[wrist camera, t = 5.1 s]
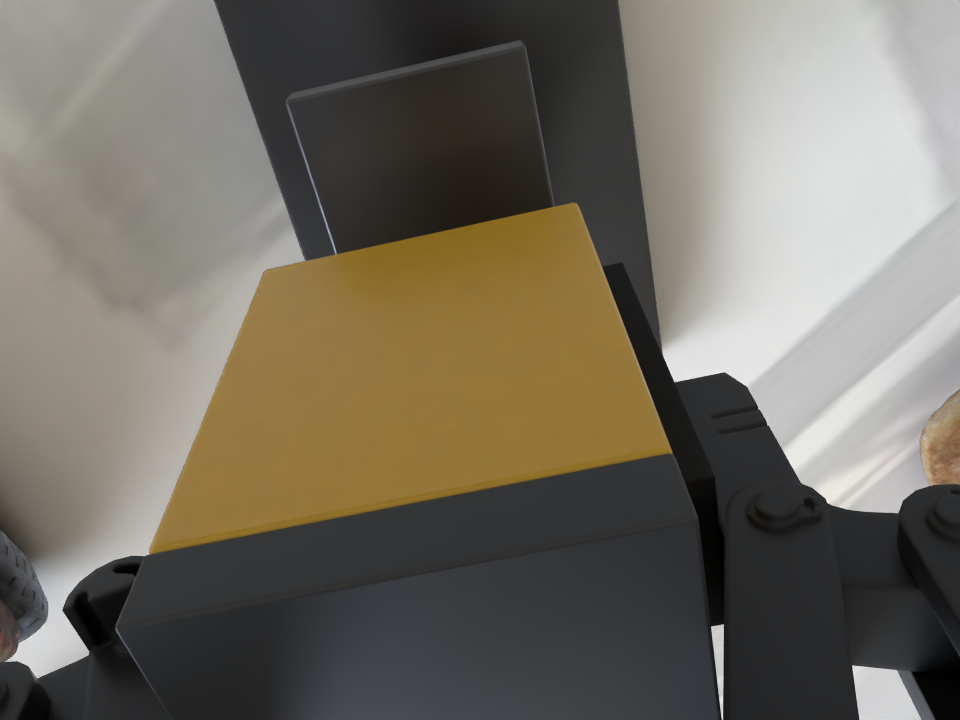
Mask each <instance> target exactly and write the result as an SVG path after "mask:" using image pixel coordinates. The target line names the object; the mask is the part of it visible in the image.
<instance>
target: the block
mask: <svg viewBox="0 0 960 720" xmlns="http://www.w3.org/2000/svg"><path fill="white" fill-rule="evenodd" d="M149 554H150V555H147V556H145V557H144V558H143V561H142V563H141V566H140V568H139V570H138V573H137V575H136V578H135V580H134V582H133V585H132V587H131V590H130V592H129V594H128V597H127V599H126V602H125V604H124V607H123V609H122V611H121V614H120V616H119V619H118V621H117V623H116V632H117V634H118V635H119V637H120V638H121V640H122V642H123V643H124V645H125V646H126V648H127V650H128V651H129V653H130V654H131V656H132V658H133V659H134V661H135V662H136V664H137V666H138V667H139V669H140V670H141V672H142V674H143V675H144V677H145V678H146V680H147V682H148V683H149V685H150V687H151V688H152V690H153V691H154V693H155V695H156V696H157V698H158V699H159V701H160V703H161V704H162V706H163V707H164V709H165V711H166V712H167V714H168V715H169V717H170V719H171V720H721V711H720V703H719V694H718V685H717V676H716V667H715V659H714V650H713V641H712V632H711V623H710V615H709V606H708V597H707V588H706V580H705V571H704V562H703V553H702V544H701V536H700V527H699V518H698V516H697V513H696V511H695V508H694V505H693V503H692V500H691V497H690V495H689V492H688V490H687V487H686V484H685V482H684V479H683V476H682V474H681V471H680V469H679V466H678V463H677V461H676V458H675V456H674V455H673V454H672V450H671V447H670V445H669V442H668V439H667V437H666V434H665V432H664V429H663V426H662V424H661V421H660V418H659V416H658V413H657V410H656V408H655V405H654V403H653V400H652V397H651V395H650V392H649V389H648V387H647V384H646V382H645V379H644V376H643V374H642V371H641V368H640V366H639V363H638V361H637V358H636V355H635V353H634V350H633V347H632V345H631V342H630V340H629V337H628V334H627V332H626V329H625V326H624V324H623V321H622V319H621V316H620V313H619V311H618V308H617V305H616V303H615V300H614V297H613V295H612V292H611V290H610V287H609V284H608V282H607V279H606V276H605V274H604V271H603V269H602V266H601V263H600V261H599V258H598V255H597V253H596V250H595V248H594V245H593V242H592V240H591V237H590V234H589V232H588V229H587V227H586V224H585V221H584V219H583V216H582V213H581V211H580V208H579V206H578V205H577V203H569V204H565V205H560V206H556V207H551V208H547V209H542V210H537V211H533V212H528V213H524V214H519V215H515V216H510V217H505V218H501V219H496V220H492V221H487V222H483V223H478V224H473V225H469V226H464V227H460V228H455V229H451V230H446V231H441V232H437V233H432V234H428V235H423V236H418V237H414V238H409V239H405V240H400V241H396V242H391V243H386V244H382V245H377V246H373V247H368V248H364V249H359V250H354V251H350V252H345V253H341V254H336V255H332V256H327V257H322V258H318V259H313V260H309V261H304V262H300V263H295V264H290V265H286V266H281V267H277V268H272V269H268V270H266V271H264V272H263V275H262V277H261V280H260V282H259V285H258V287H257V289H256V292H255V294H254V297H253V299H252V301H251V304H250V306H249V309H248V311H247V314H246V316H245V318H244V321H243V323H242V326H241V328H240V331H239V333H238V335H237V338H236V340H235V343H234V345H233V347H232V350H231V352H230V355H229V357H228V360H227V362H226V364H225V367H224V369H223V372H222V374H221V377H220V379H219V381H218V384H217V386H216V389H215V391H214V394H213V396H212V398H211V401H210V403H209V406H208V408H207V410H206V413H205V415H204V418H203V420H202V423H201V425H200V427H199V430H198V432H197V435H196V437H195V440H194V442H193V444H192V447H191V449H190V452H189V454H188V456H187V459H186V461H185V464H184V466H183V469H182V471H181V473H180V476H179V478H178V481H177V483H176V486H175V488H174V490H173V493H172V495H171V498H170V500H169V502H168V505H167V507H166V510H165V512H164V515H163V517H162V519H161V522H160V524H159V527H158V529H157V532H156V534H155V536H154V539H153V541H152V544H151V546H150V549H149Z"/></svg>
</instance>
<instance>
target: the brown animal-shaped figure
mask: <svg viewBox="0 0 960 720" xmlns="http://www.w3.org/2000/svg"><path fill="white" fill-rule="evenodd" d="M47 617H48V602H47V599H46V597H45V595H44V592H43V590H42V588H41V586H40V583H39V581H38V579H37V577H36V574H35V572H34V569H33V567H32V565H31V563H30V562H29V560H28V559H27V558H26V556H25V555H24V554H23V552H22V551H21V550H20V549H19V548H18V547H17V546H16V545H15V544H14V543H13V542H12V541H11V540H10V539H9V538H8V537H7V536H6V535H5V533H4V532H3V531H2V530H1V529H0V663H1V662H5V661H6V660H8V659H9V658H11V657H12V656H13V655H14V654H15V653H16V651H17V647H18V643H19V642H21V641H23V640H25V639H27V638H28V637H30V636H31V635H32V634H34V633H35V632H36V631H37V630H39V629H40V628H41V626H42V625H43V624H44V623H45V622H46V620H47Z"/></svg>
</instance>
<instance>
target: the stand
mask: <svg viewBox="0 0 960 720" xmlns="http://www.w3.org/2000/svg"><path fill="white" fill-rule="evenodd" d="M214 2H215V5H216V8H217V11H218V13H219V16H220V19H221V22H222V25H223V28H224V31H225V33H226V36H227V39H228V42H229V45H230V48H231V51H232V53H233V56H234V59H235V62H236V65H237V68H238V71H239V73H240V76H241V79H242V82H243V85H244V88H245V91H246V93H247V96H248V99H249V102H250V105H251V108H252V111H253V113H254V116H255V119H256V122H257V125H258V128H259V131H260V133H261V136H262V139H263V142H264V145H265V148H266V151H267V153H268V156H269V159H270V162H271V165H272V168H273V170H274V173H275V176H276V179H277V182H278V185H279V188H280V190H281V193H282V196H283V199H284V202H285V205H286V208H287V210H288V213H289V216H290V219H291V222H292V225H293V228H294V230H295V233H296V236H297V239H298V242H299V245H300V248H301V250H302V253H303V256H304V259H305V261H309V260H313V259H318V258H322V257H327V256H332V255H336V254H341V253H345V252H350V251H354V250H359V249H364V248H368V247H373V246H377V245H382V244H386V243H391V242H396V241H400V240H405V239H409V238H414V237H418V236H423V235H428V234H432V233H437V232H441V231H446V230H451V229H455V228H460V227H464V226H469V225H473V224H478V223H483V222H487V221H492V220H496V219H501V218H505V217H510V216H515V215H519V214H524V213H528V212H533V211H537V210H542V209H547V208H551V207H556V206H560V205H565V204H569V203H577V205H578V206H579V208H580V211H581V213H582V216H583V219H584V221H585V224H586V227H587V229H588V232H589V234H590V237H591V240H592V242H593V245H594V248H595V250H596V253H597V255H598V258H599V261H600V263H601V266H606V265H611V264H615V263H620V262H622V263H623V265H624V267H625V270H626V272H627V274H628V276H629V279H630V281H631V283H632V286H633V288H634V290H635V293H636V295H637V297H638V300H639V302H640V304H641V307H642V309H643V311H644V313H645V316H646V318H647V320H648V323H649V325H650V327H651V330H652V332H653V334H654V337H655V339H656V341H657V344H658V346H659V348H660V351H661V353H662V345H661V337H660V329H659V321H658V313H657V305H656V297H655V289H654V281H653V273H652V265H651V257H650V249H649V242H648V234H647V226H646V218H645V210H644V202H643V194H642V186H641V178H640V170H639V162H638V154H637V146H636V138H635V130H634V122H633V115H632V107H631V99H630V91H629V83H628V75H627V67H626V59H625V51H624V43H623V35H622V27H621V19H620V11H619V3H618V0H214ZM662 355H663V353H662Z"/></svg>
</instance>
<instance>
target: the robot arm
mask: <svg viewBox="0 0 960 720" xmlns="http://www.w3.org/2000/svg"><path fill="white" fill-rule="evenodd" d="M602 269H603V271H604V274H605V276H606V279H607V282H608V284H609V287H610V290H611V292H612V295H613V297H614V300H615V303H616V305H617V308H618V311H619V313H620V316H621V319H622V321H623V324H624V326H625V329H626V332H627V334H628V337H629V340H630V342H631V345H632V347H633V350H634V353H635V355H636V358H637V361H638V363H639V366H640V368H641V371H642V374H643V376H644V379H645V382H646V384H647V387H648V389H649V392H650V395H651V397H652V400H653V403H654V405H655V408H656V410H657V413H658V416H659V418H660V421H661V424H662V426H663V429H664V432H665V434H666V437H667V439H668V442H669V445H670V447H671V450H672V454H673V455H674V456H675V458H676V461H677V463H678V466H679V469H680V471H681V474H682V476H683V479H684V482H685V484H686V487H687V490H688V492H689V495H690V497H691V500H692V503H693V505H694V508H695V511H696V513H697V516H698V518H699V527H700V536H701V544H702V553H703V562H704V571H705V580H706V588H707V597H708V606H709V615H710V623H711V626H716V625H722V624H724V690H723V720H859V714H858V707H857V700H856V692H855V685H854V677H853V670H852V665H855V666H865V667H874V668H884V669H893V670H897V671H898V673H899V675H900V677H901V679H902V681H903V683H904V685H905V687H906V689H907V691H908V693H909V695H910V697H911V699H912V701H913V703H914V705H915V707H916V709H917V711H918V713H919V715H920V717H921V719H922V720H960V485H959V484H943V485H932V486H929V487H926V488H922V489H919V490H916V491H915V492H913V493H912V494H911V495H910V496H908V497H907V498H906V499H905V500H903V503H902V506H901V508H900V511H899V513H876V512H861V511H852V510H846V509H843V508H839V507H835V506H832V505H830V504H828V503H827V502H826V499H825V498H824V497H822V496H821V495H820V494H819V493H818V492H816V491H815V490H814V489H813V488H811V487H808V486H806V485H803V484H802V483H801V482H800V481H799V479H798V477H797V475H796V474H795V472H794V470H793V468H792V466H791V465H790V463H789V461H788V459H787V458H786V456H785V454H784V452H783V450H782V449H781V447H780V445H779V443H778V442H777V440H776V438H775V436H774V434H773V433H772V431H771V429H770V427H769V426H767V423H766V420H765V418H764V417H763V415H762V413H761V411H760V410H758V406H757V404H756V402H755V401H754V399H753V397H752V395H751V393H750V392H749V390H748V388H747V387H746V386H745V385H743V384H742V383H740V382H739V381H737V380H736V379H734V378H733V377H731V376H729V375H728V374H726V373H725V372H724V373H719V374H714V375H709V376H704V377H699V378H694V379H689V380H684V381H679V382H674V381H673V378H672V376H671V374H670V371H669V369H668V367H667V364H666V362H665V360H664V357H663V355H662V353H661V351H660V348H659V346H658V344H657V341H656V339H655V337H654V334H653V332H652V330H651V327H650V325H649V323H648V320H647V318H646V316H645V313H644V311H643V309H642V307H641V304H640V302H639V300H638V297H637V295H636V293H635V290H634V288H633V286H632V283H631V281H630V279H629V276H628V274H627V272H626V270H625V267H624V265H623V263H622V262H620V263H615V264H611V265H606V266H602ZM144 557H145V556H129V557H125V558H122V559H118V560H114V561H112V562H110V563H108V564H106V565H104V566H102V567H100V568H98V569H96V570H95V571H93V572H92V573H91V574H89V575H88V576H87V577H85V578H84V579H83V580H81V581H80V582H79V583H78V585H77V586H76V587H75V588H74V589H73V591H72V592H71V593H70V594H69V595H68V597H67V600H66V602H65V605H64V607H63V612H64V613H65V615H66V616H67V618H68V620H69V621H70V623H71V624H72V626H73V627H74V629H75V630H76V632H77V633H78V635H79V636H80V638H81V639H82V641H83V642H84V644H85V645H86V647H87V648H88V650H89V651H90V652H89V655H88V656H86V657H84V658H83V659H81V660H79V661H77V662H74V663H72V664H70V665H68V666H65V667H63V668H61V669H58V670H56V671H54V672H52V673H49V674H47V675H45V676H42V677H40V678H38V679H37V678H36V677H35V675H34V674H33V672H32V671H31V670H30V668H29V667H28V666H26V665H24V664H22V663H20V662H18V661H16V662H1V663H0V720H171V719H170V717H169V715H168V714H167V712H166V711H165V709H164V707H163V706H162V704H161V703H160V701H159V699H158V698H157V696H156V695H155V693H154V691H153V690H152V688H151V687H150V685H149V683H148V682H147V680H146V678H145V677H144V675H143V674H142V672H141V670H140V669H139V667H138V666H137V664H136V662H135V661H134V659H133V658H132V656H131V654H130V653H129V651H128V650H127V648H126V646H125V645H124V643H123V642H122V640H121V638H120V637H119V635H118V634H117V632H116V623H117V621H118V619H119V616H120V614H121V611H122V609H123V607H124V604H125V602H126V599H127V597H128V594H129V592H130V590H131V587H132V585H133V582H134V580H135V578H136V575H137V573H138V570H139V568H140V566H141V563H142V561H143V558H144Z"/></svg>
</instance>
